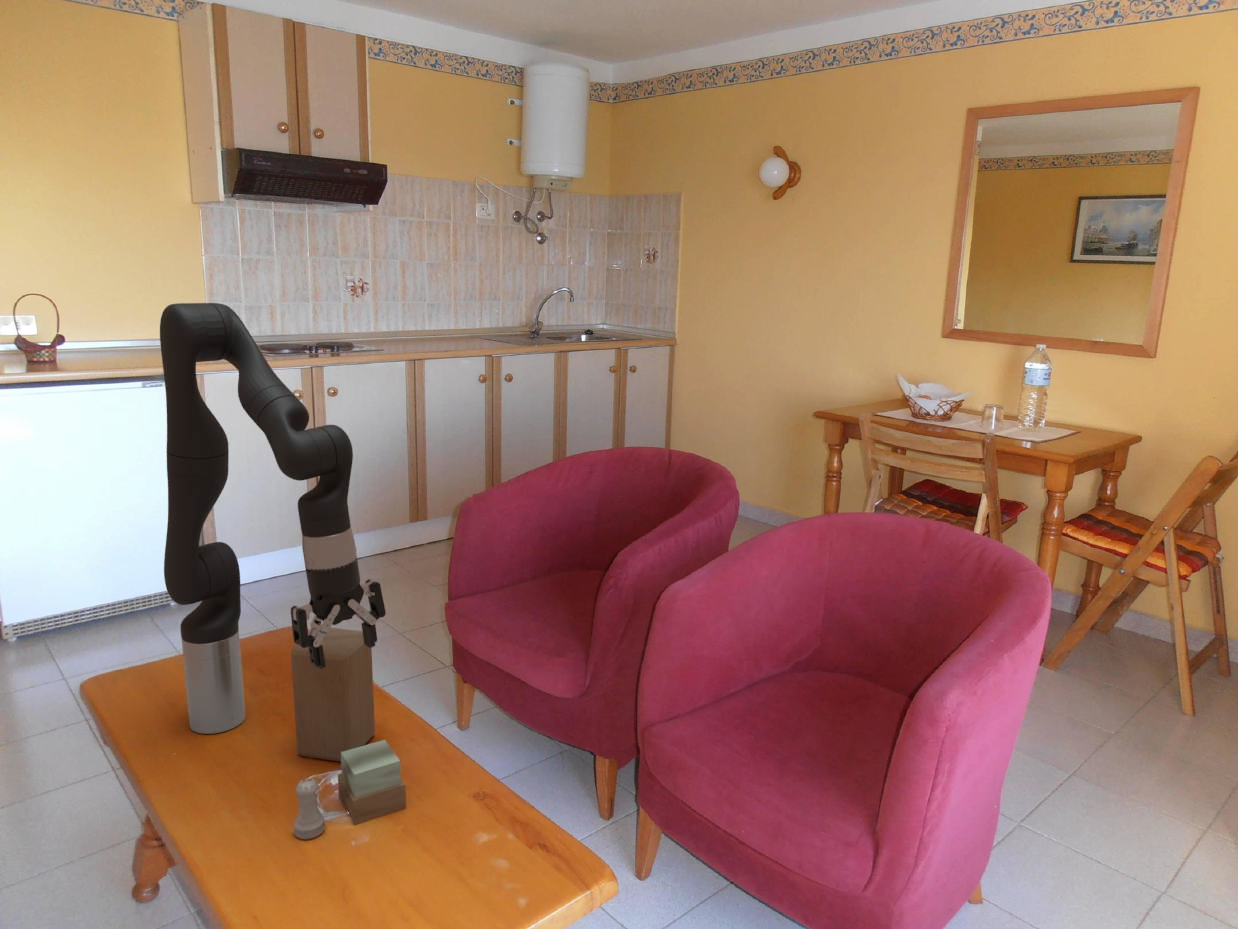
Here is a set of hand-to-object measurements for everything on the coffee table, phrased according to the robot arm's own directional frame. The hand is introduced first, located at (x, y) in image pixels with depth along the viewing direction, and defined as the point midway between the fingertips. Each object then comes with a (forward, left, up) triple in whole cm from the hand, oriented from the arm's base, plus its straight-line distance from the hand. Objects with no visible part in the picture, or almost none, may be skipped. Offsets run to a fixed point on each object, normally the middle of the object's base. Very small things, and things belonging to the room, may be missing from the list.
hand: (345, 656), depth 134 cm
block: (-12, +1, -23) cm, 26 cm away
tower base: (+7, +1, -22) cm, 23 cm away
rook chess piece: (+9, -9, -23) cm, 26 cm away
